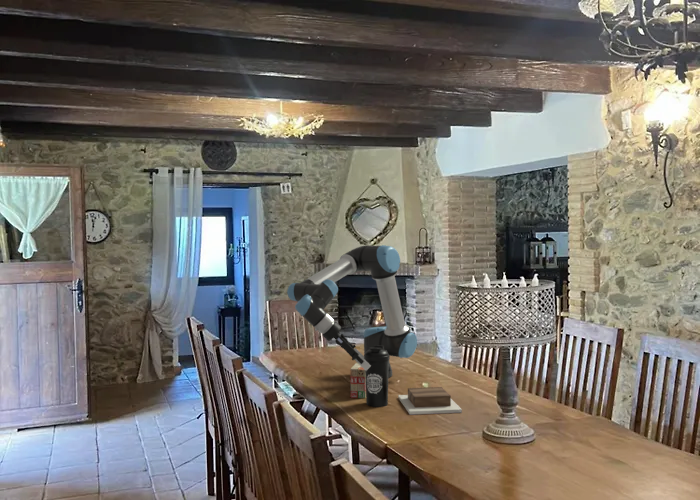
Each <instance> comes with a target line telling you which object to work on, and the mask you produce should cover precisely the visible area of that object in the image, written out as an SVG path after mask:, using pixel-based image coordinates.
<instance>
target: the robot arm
mask: <svg viewBox="0 0 700 500" xmlns="http://www.w3.org/2000/svg"><path fill="white" fill-rule="evenodd" d="M400 263H401V258H400V254H399V251H398V250H397V249H396V248H395V247H394V246H391V245H361V246H358V247H355V248H353V249H351V250H349V251H347V252H346V253H344V254H342V255H340V257H339V259H338V260H336V261H334V262H333V263H331V264H329V265H328V266H326V267H324V268H323V269H321V270H319V271H318V272H316V273H314V274H313V275H311V276H309V277H308V278H307V279H305V280H303V281H301V282H292V283H291V284H289V286H288V288H287V296H288V299H290V300H291V301H294V302H297V303H295V307H294V308H295V310H296V311H297V312H298V314H299V315H300V316H302V317H303V318H304V319H305V320H306V321H307V323H309V325H311V326H312V328H314V331H315V332H317V331H318V332H319V333H320V334H322V335H321V336H322V337H323V338H324V339H325V340H326V341H327V342H331V340H332V341H333V339H334V341H335V343H336V344H337V345H338V346H340V348H342V349H343V350H344V351H346V353H347V354H348V355H349V356H350V357H351V360H352V361H355V363H358V364H359V365H360V366H362V367H363V368H364V369H365V370H366V371H367V370H368V369H369V368H370V367H371V365H370V364H369V363H368V362H367V361H366V360H365V359H364V354H365V353H366V351H368V350H369V348H371V347H374V345H381V346H384V350H386V351H387V352H388V354H389V355H390V356H391V357H396V358H401V359H402V358H404V359H409V358H411V357H412V356H413V355H414V353H415V351H416V349H417V347H418V338H417V335H416V334H415V333H413V332H411V331H410V330H411V329H410V327H409V325H408V324H406V323H405V318H404V313H403V309H402V303H401V299H400V295H399V290H398V286H397V281H396V277H395V276H396V275H397V274H398V270H399V269H400V265H401V264H400ZM357 272H370V274H371V279H373V280H374V281H375V282H376V287H377V291H378V295H379V300H380V303H381V309H382V313H383V318H384V322H385V326H374V327H373V326H372V327H368V328H365V329H364V332H363V354H362V353H361V352H360V351H359V350H358V348H356V344H353V343H351V342H350V341H349V340H348V339H347V338H346V336H345V335H344V334H343V333H340V332H341V330H342V326H341V325H340V324H339V323H338V322H337V321H335V319H334V318H333V317H332V316H331V315H330V314H329V313H328V312H326V310H325V308H326V307H327V306H328V305H329V304H330V303H331V301H333V300H334V298H335V297H336V295H337V294H338V292H339V288H338V285H337V284H336V282H338V281H339V280H341V279H342V278H344V277H346V276H348V275H353V274H355V273H357ZM391 377H393V368H392V366H391V363H390V361H389V369H388V379H389V378H391Z"/></svg>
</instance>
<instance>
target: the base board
mask: <svg viewBox="0 0 700 500" xmlns="http://www.w3.org/2000/svg"><path fill="white" fill-rule="evenodd" d="M398 400H399V402H401V404H402V405H403V407H404V409H405V411H407V412H408V414H409V416H410V415H432V414H433V415H434V414H456V413H459V414H462V413H463V409H462V408H461V407H460V405H458V404H457V402H455V401H454V400H453V399H452V398H451V406H441V407H414V406H413V404H412V403H411V402H410V400H409V399H408V394H398Z"/></svg>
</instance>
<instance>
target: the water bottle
mask: <svg viewBox="0 0 700 500" xmlns="http://www.w3.org/2000/svg"><path fill="white" fill-rule="evenodd" d="M363 356H364V359H365V360H366V361H367V362H368V363H369V364H370V365H371V367H370V368H369V369H368V370H367V371H366V370H365V378H366V398H365V401H366V406H368V407H373V408H382V407H386V406H388V404H389V403H388V402H389V378H388V369H389V362H390V355H389V354H388V352H387V351H386V350H384V346H381V345H374V347H371V348H369V350H368V351H366V353H365V354H364V353H363Z"/></svg>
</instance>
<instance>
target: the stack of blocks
mask: <svg viewBox="0 0 700 500" xmlns="http://www.w3.org/2000/svg"><path fill="white" fill-rule="evenodd" d="M349 375H350V382H349V383H350V398H352V399H366V378H365V369H364V368H363V367H362V366H360V365H359V364H358V363H357V362H355V363H354V365H352V367H351V368H350V370H349Z"/></svg>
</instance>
